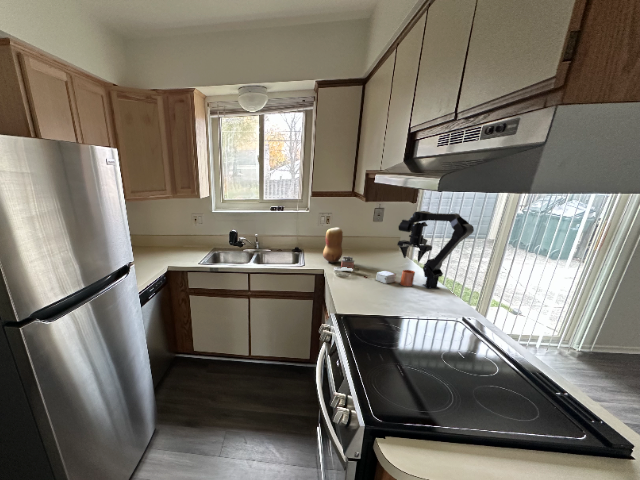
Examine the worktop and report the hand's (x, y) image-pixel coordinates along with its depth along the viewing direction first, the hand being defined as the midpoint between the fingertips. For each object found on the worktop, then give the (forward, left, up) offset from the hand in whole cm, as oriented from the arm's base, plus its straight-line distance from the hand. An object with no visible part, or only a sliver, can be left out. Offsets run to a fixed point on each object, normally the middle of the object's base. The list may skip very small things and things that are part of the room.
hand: (411, 259), depth 190 cm
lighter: (+18, +32, -13) cm, 39 cm away
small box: (-2, +14, -13) cm, 19 cm away
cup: (-8, +4, -13) cm, 16 cm away
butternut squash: (+40, +37, -13) cm, 56 cm away
